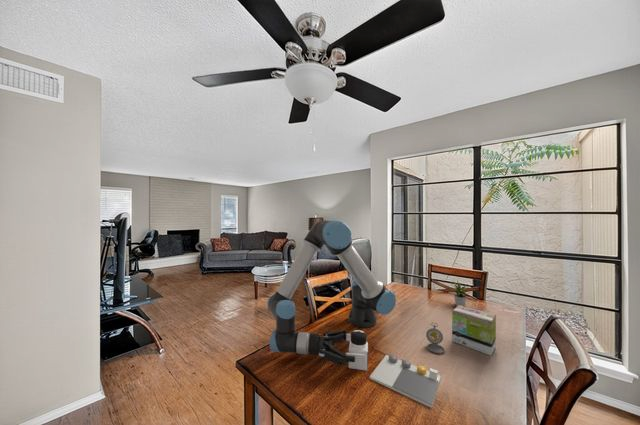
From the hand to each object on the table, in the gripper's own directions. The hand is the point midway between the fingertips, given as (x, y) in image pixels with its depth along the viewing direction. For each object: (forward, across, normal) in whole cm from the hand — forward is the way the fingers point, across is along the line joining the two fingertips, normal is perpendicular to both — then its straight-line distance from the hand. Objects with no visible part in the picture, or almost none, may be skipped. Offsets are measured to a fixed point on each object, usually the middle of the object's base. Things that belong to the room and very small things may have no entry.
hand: (363, 347), depth 88 cm
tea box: (+50, -21, -7) cm, 55 cm away
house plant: (+66, -70, -7) cm, 96 cm away
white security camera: (-2, 0, -7) cm, 7 cm away
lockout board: (+14, +6, -6) cm, 17 cm away
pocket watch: (+32, -15, -7) cm, 36 cm away
